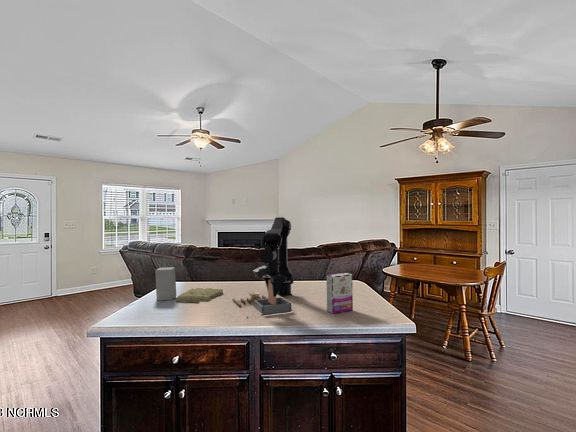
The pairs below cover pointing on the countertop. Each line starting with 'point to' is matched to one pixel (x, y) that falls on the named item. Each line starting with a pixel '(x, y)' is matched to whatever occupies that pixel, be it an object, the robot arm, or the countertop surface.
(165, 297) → the skincare box
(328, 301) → the candy bar box
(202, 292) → the decorative tile
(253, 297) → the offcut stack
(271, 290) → the slat
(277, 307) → the tray
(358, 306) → the countertop surface
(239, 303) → the rack
